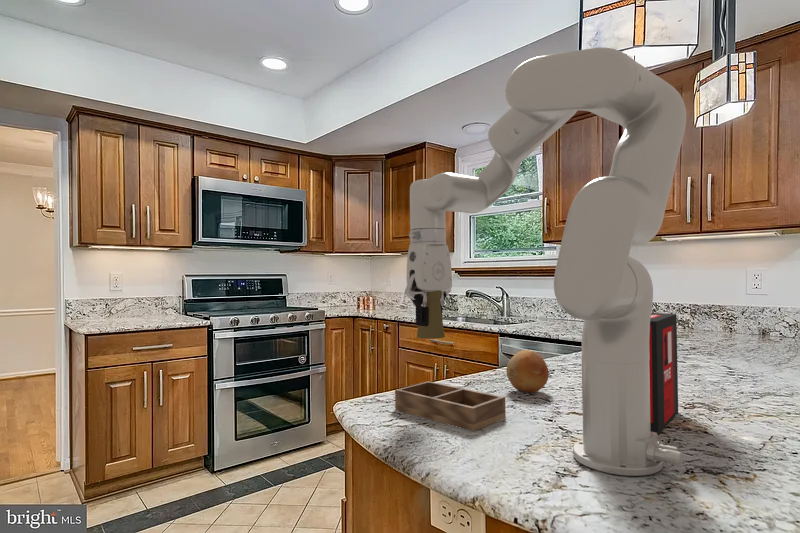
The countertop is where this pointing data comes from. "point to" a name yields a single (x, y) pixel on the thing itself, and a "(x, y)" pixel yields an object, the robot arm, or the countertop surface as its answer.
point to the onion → (527, 371)
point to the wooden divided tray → (451, 405)
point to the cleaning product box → (663, 370)
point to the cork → (432, 318)
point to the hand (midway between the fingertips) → (429, 323)
